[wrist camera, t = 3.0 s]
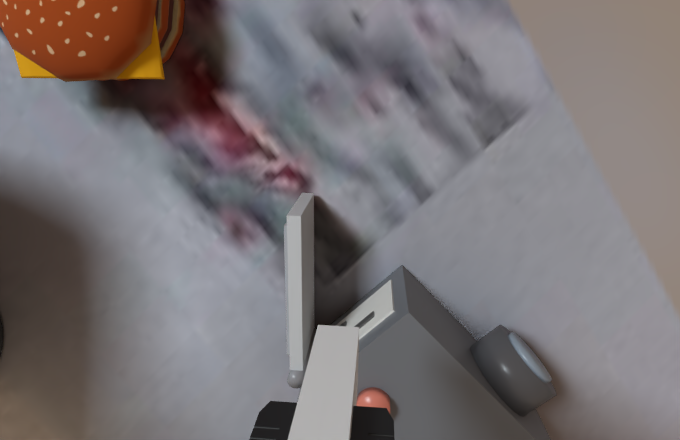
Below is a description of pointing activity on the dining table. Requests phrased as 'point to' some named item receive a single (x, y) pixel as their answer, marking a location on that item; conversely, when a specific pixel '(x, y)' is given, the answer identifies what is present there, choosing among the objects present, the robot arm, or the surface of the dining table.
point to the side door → (299, 286)
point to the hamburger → (92, 37)
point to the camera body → (443, 369)
